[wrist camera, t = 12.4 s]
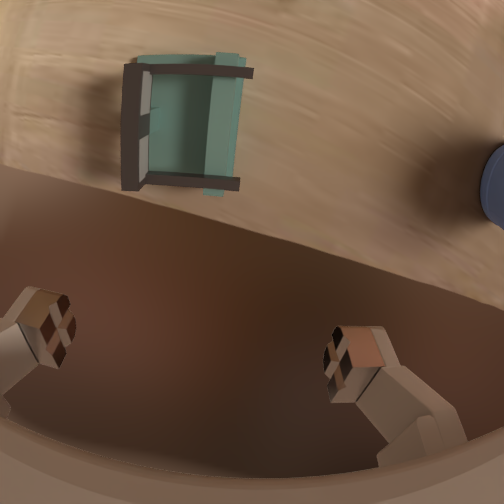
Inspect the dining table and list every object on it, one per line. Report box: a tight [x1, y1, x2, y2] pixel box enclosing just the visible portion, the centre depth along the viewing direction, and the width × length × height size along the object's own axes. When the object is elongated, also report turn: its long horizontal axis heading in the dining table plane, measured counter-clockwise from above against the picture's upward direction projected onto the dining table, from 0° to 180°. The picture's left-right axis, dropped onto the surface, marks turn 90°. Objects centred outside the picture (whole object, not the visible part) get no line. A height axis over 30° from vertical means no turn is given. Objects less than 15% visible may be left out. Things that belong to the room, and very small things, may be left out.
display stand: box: [137, 52, 246, 197], centre depth 33 cm, size 17×14×5 cm
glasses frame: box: [121, 63, 254, 191], centre depth 29 cm, size 14×13×4 cm
